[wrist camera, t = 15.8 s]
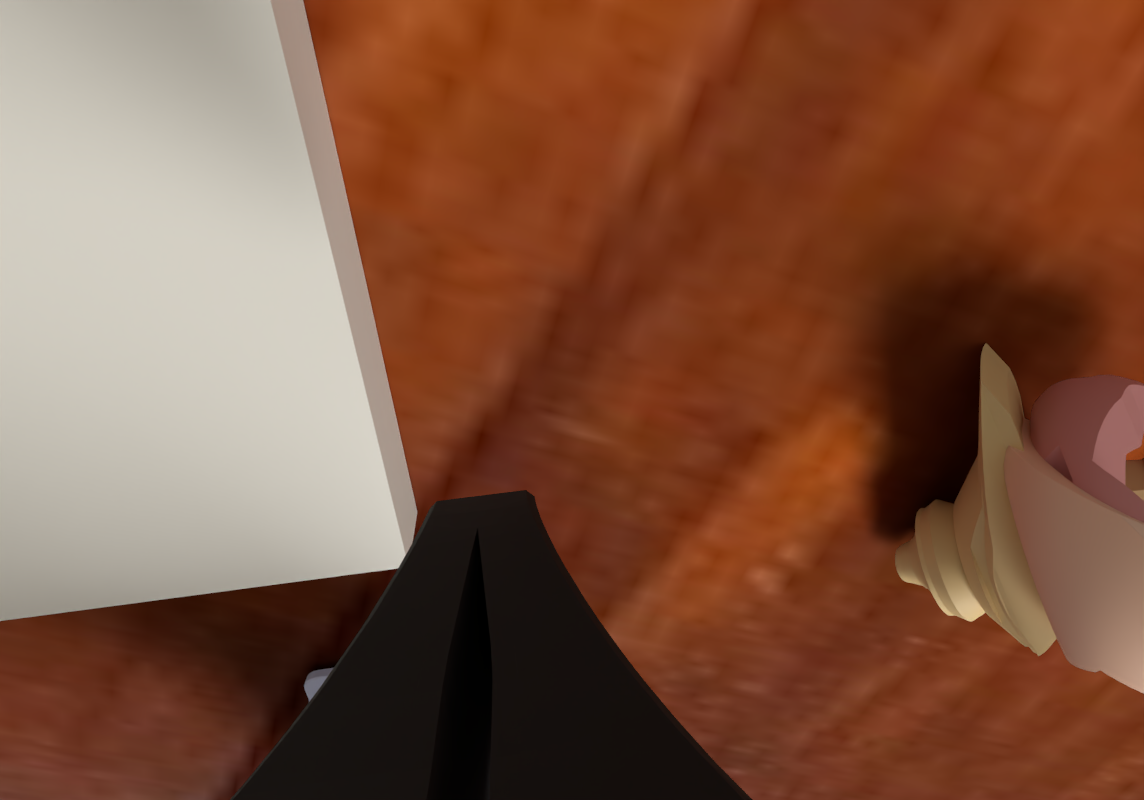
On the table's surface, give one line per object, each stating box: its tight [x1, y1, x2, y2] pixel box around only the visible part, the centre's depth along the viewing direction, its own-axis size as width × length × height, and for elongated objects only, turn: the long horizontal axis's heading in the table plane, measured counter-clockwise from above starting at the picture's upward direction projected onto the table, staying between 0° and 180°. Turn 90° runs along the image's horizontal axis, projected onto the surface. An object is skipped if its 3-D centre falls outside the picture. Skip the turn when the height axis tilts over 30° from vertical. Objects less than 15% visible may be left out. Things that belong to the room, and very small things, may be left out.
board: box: [0, 0, 417, 621], centre depth 14 cm, size 16×12×2 cm
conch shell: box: [895, 343, 1144, 693], centre depth 19 cm, size 9×10×10 cm
